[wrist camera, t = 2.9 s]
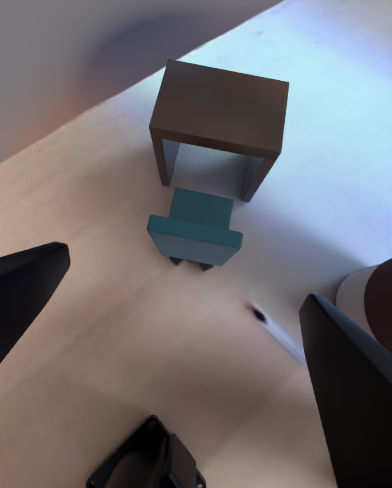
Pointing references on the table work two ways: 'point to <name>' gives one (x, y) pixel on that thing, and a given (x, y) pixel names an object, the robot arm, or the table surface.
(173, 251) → the office chair
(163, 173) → the desk
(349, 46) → the table surface
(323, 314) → the robot arm
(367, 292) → the coffee cup
